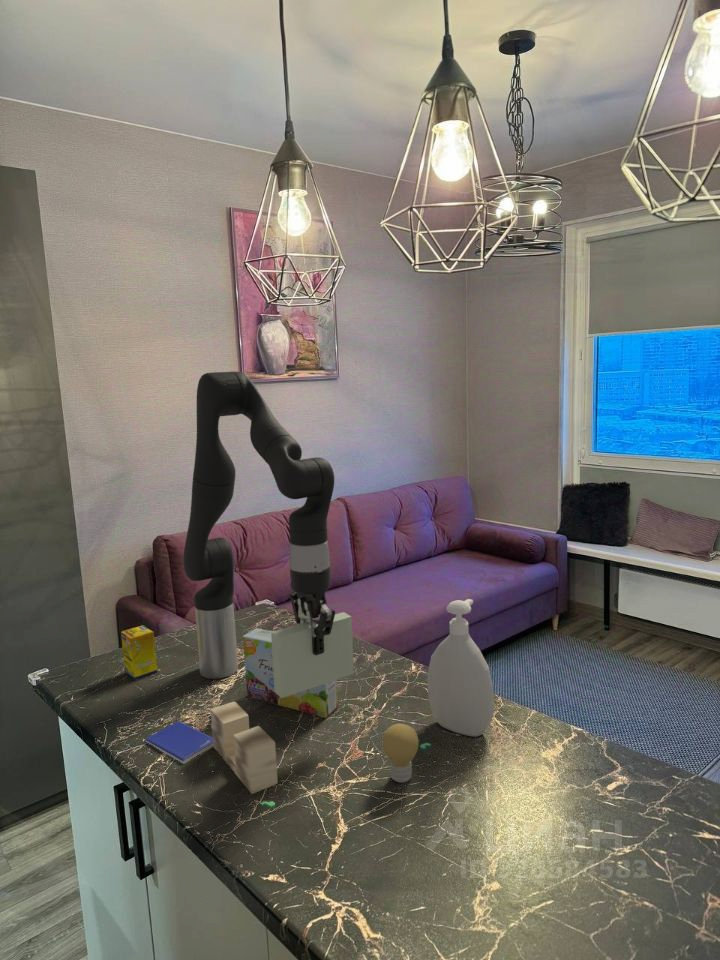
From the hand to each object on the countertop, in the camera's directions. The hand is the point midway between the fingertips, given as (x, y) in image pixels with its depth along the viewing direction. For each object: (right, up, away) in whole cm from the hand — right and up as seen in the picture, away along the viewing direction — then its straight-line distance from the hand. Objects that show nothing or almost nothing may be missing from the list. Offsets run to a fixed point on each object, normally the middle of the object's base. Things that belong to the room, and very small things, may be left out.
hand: (313, 650), depth 125 cm
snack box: (-6, -17, +19) cm, 26 cm away
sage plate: (0, -7, +1) cm, 7 cm away
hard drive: (-27, -20, +5) cm, 34 cm away
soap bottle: (+30, -17, +7) cm, 35 cm away
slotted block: (-13, -20, -3) cm, 24 cm away
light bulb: (+16, -21, -9) cm, 28 cm away
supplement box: (-45, -15, +36) cm, 60 cm away
